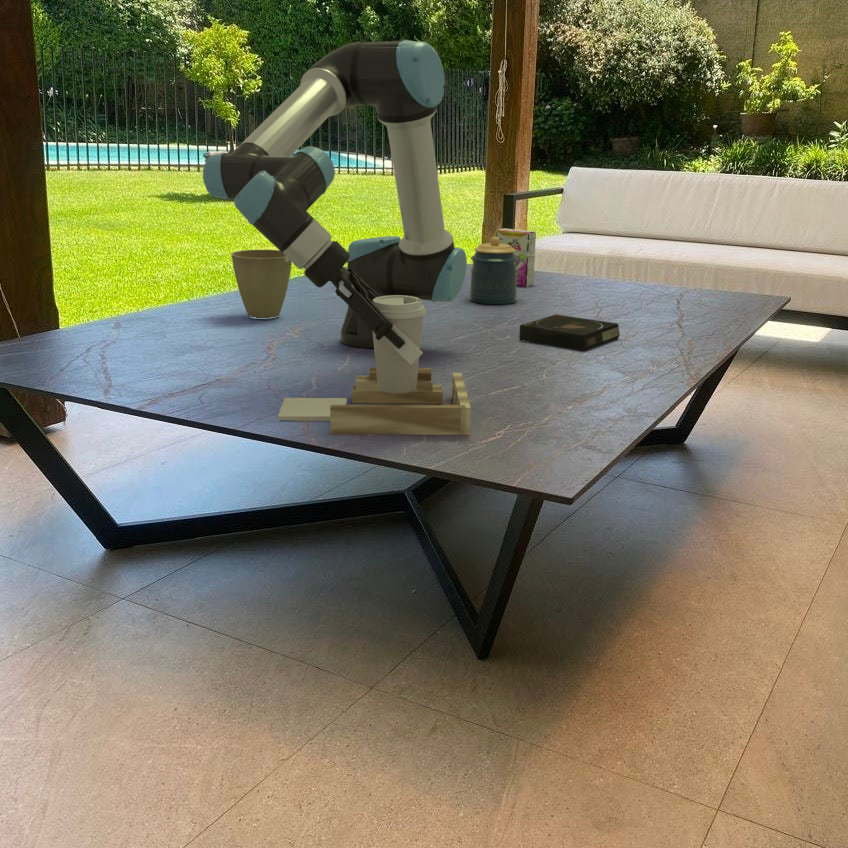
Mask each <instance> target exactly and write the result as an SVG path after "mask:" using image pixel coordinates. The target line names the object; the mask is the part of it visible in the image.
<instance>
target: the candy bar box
mask: <svg viewBox="0 0 848 848" xmlns="http://www.w3.org/2000/svg"><path fill="white" fill-rule="evenodd" d="M536 234H537V232H536V231H535V230H525V229H515V228H514V229H513V228H500V229H496V236H495V237H498V238H499V239H500V244H508V245H510V246H511V247H512V248H514V249H515V250H516V251H515V252H514V255H515V256H516V257H517V258H518V261H517V262H516V269H517V270H518V272H517V287H522V288H528V287H531V286H532V287H533V286H534V280H535V279H534V275H535V258H536V257H535V256H536V241H537V239H536V238H537V235H536Z"/></svg>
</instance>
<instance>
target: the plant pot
mask: <svg viewBox="0 0 848 848" xmlns="http://www.w3.org/2000/svg"><path fill="white" fill-rule="evenodd" d="M286 257H287V256H285V255H284V254H283V253H282V252H281V251H280V250H279V249H244V250H237V251H234V252H232V253H231V261H232V265H233V271H234V272H233V273H234V277H235V281H236V284H237V288H238V291H239V294H240V297H241V301H242V303H243V306H244V308H245V312H246V314H247V316H248V317H249V316H251V317H256V318H270V317H276V316H280V314H281V311H282V308H283V306H284V303H285V299H286V295H287V291H288V286H289V282H290V278H291V270H292V264H293V262H292V261H291V262H289V263H287V262H286V261H285V258H286Z"/></svg>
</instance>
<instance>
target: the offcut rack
mask: <svg viewBox="0 0 848 848" xmlns="http://www.w3.org/2000/svg"><path fill="white" fill-rule="evenodd" d="M451 382H452V383H451V385H452V387H451V391H452V392H451V397H452V402H453V403H452V404H347V405H331V406H330V421H329V422H330V435H394V436H395V435H396V436H397V435H401V436H403V435H405V436H406V435H407V436H410V435H411V436H413V435H414V436H415V435H418V436H419V435H420V436H421V435H422V436H423V435H425V436H428V435H429V436H430V435H434V436H439V435H441V436H442V435H443V436H444V435H448V436H450V435H451V436H455V435H456V436H465V435H467V436H470V435H471V415H472V414H471V411H472V410H471V409H472V407H471V404H470V400H469V397H468V393H467V388H466V385H465V381H464V377H463V374H462V372H452V381H451Z"/></svg>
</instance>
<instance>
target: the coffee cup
mask: <svg viewBox="0 0 848 848" xmlns="http://www.w3.org/2000/svg"><path fill="white" fill-rule="evenodd" d="M372 303H373V304H374V305H375V306H376V307H377V308H378V309H379V311H380V312H381V313H382V314H383V315H384V316H385V317H386V319H387V320H388V321H389V322H390V323H392V326H393V325H395V326H396V327H397V328H398V329H399V330H400V331H401V332H402V333H403V334H404V335H405V336H406V337H407V338H408V339H409V340H410V341H411V342H412V343H413V344H414V345H416V346H417V347H418V348H419V349H420V350H421V339H422V332H423V331H422V329H423V320H424V316H425V315H426V313H427V311H426V308H425V305H423V302H422V300H421V299H420V298H417V297H413V296H404V295H389V296H381V297H377V298H374V299H373V301H372ZM372 332H373V331H372ZM375 337H376V335H375V333H374V332H373V342H374V348H373V349H374V350H373V351H374V361H375V368H376V373H377V384H378V389H379V390H380V391H383V392H387V393H407V392H411V391H414V390H415V389H416V386H417V375H418V368H419V365H420V364H419V361H420V357H419V358H418V359H416V360H415V361H414V362H413V363H412V364H411V365H410V364H409V363H408V362H407V361H406V360H405V359H404V358H403V357H402V356H401V355H400V354H399V353H398V352H397V351H396V350H395V349H394V348H393V347H392V346H391V345H390V344H389V343H388V342H386V341H385V340H384V339H383V338H381V339H380V340H377V339H376V338H375Z"/></svg>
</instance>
